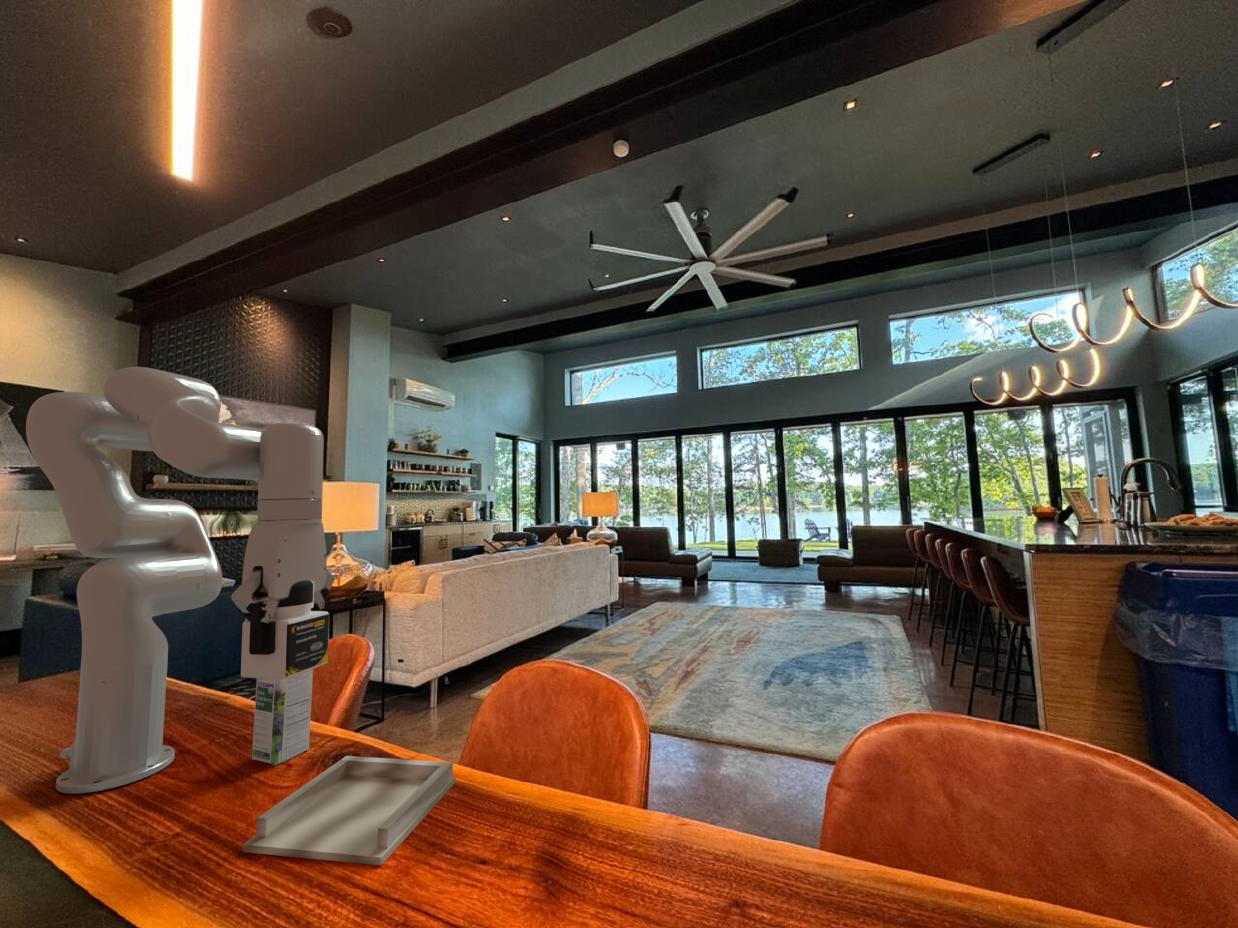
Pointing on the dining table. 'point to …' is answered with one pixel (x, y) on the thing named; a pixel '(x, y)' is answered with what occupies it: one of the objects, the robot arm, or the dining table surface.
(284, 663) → the medicine bottle
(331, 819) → the bottle stand
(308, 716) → the syrup box
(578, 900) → the dining table surface
